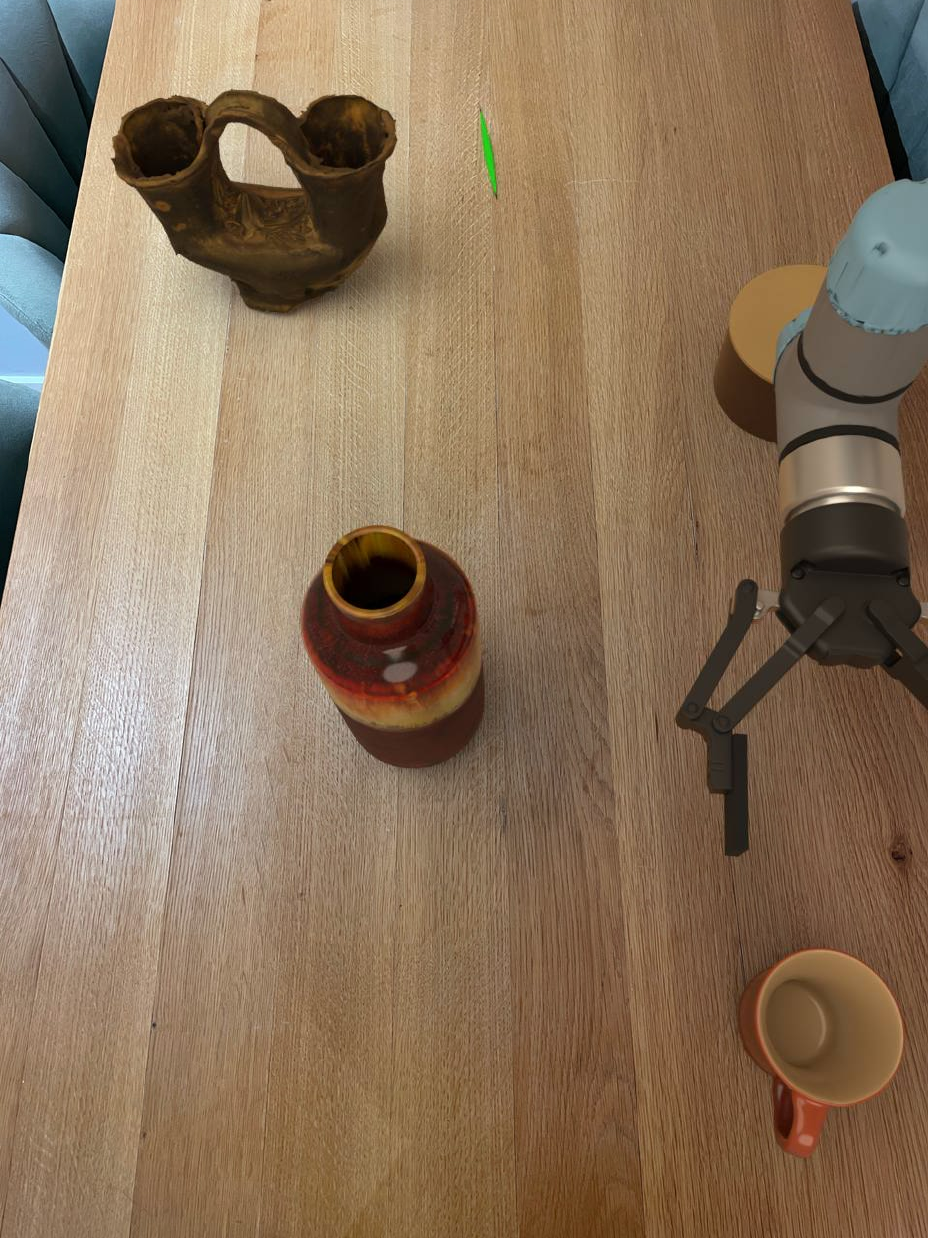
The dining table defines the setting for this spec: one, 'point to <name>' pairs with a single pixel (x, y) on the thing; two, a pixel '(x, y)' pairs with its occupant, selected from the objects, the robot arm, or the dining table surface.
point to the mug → (820, 1038)
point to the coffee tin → (761, 344)
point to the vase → (397, 645)
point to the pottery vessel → (264, 189)
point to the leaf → (488, 153)
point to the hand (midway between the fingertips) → (861, 865)
